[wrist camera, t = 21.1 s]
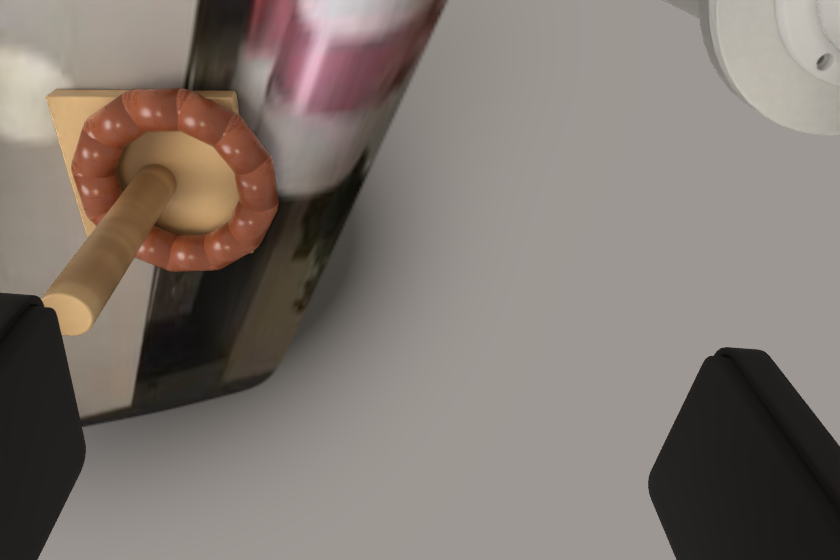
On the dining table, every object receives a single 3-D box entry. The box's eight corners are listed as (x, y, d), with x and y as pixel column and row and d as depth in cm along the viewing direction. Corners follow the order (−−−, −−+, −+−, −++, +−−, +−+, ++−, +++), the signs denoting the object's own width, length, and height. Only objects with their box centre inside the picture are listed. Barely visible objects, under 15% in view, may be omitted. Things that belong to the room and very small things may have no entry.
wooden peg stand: (236, 90, 33) (164, 207, 22) (256, 243, 38) (206, 401, 27) (55, 88, 32) (-113, 208, 21) (99, 243, 37) (-18, 405, 26)
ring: (265, 81, 31) (259, 94, 30) (289, 256, 37) (284, 274, 35) (57, 85, 31) (39, 98, 29) (112, 261, 37) (99, 280, 35)
